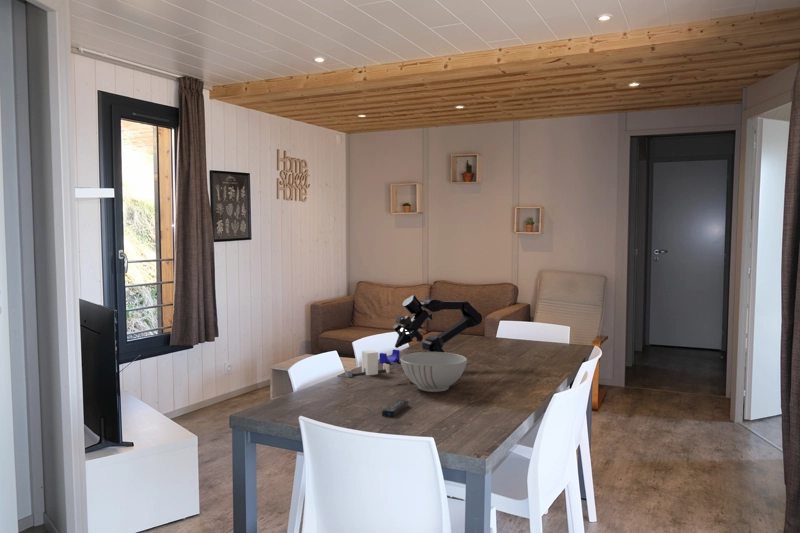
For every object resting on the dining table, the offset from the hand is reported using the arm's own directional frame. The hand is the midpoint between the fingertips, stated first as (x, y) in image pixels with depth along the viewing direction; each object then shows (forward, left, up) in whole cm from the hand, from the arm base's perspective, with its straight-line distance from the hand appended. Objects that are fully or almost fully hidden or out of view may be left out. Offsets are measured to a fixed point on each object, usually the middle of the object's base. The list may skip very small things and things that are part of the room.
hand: (395, 347), depth 268 cm
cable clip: (+12, -16, -12) cm, 24 cm away
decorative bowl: (-25, +15, -12) cm, 31 cm away
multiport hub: (-25, +50, -12) cm, 57 cm away
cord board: (+8, +11, -12) cm, 18 cm away
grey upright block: (+7, +10, -10) cm, 16 cm away
